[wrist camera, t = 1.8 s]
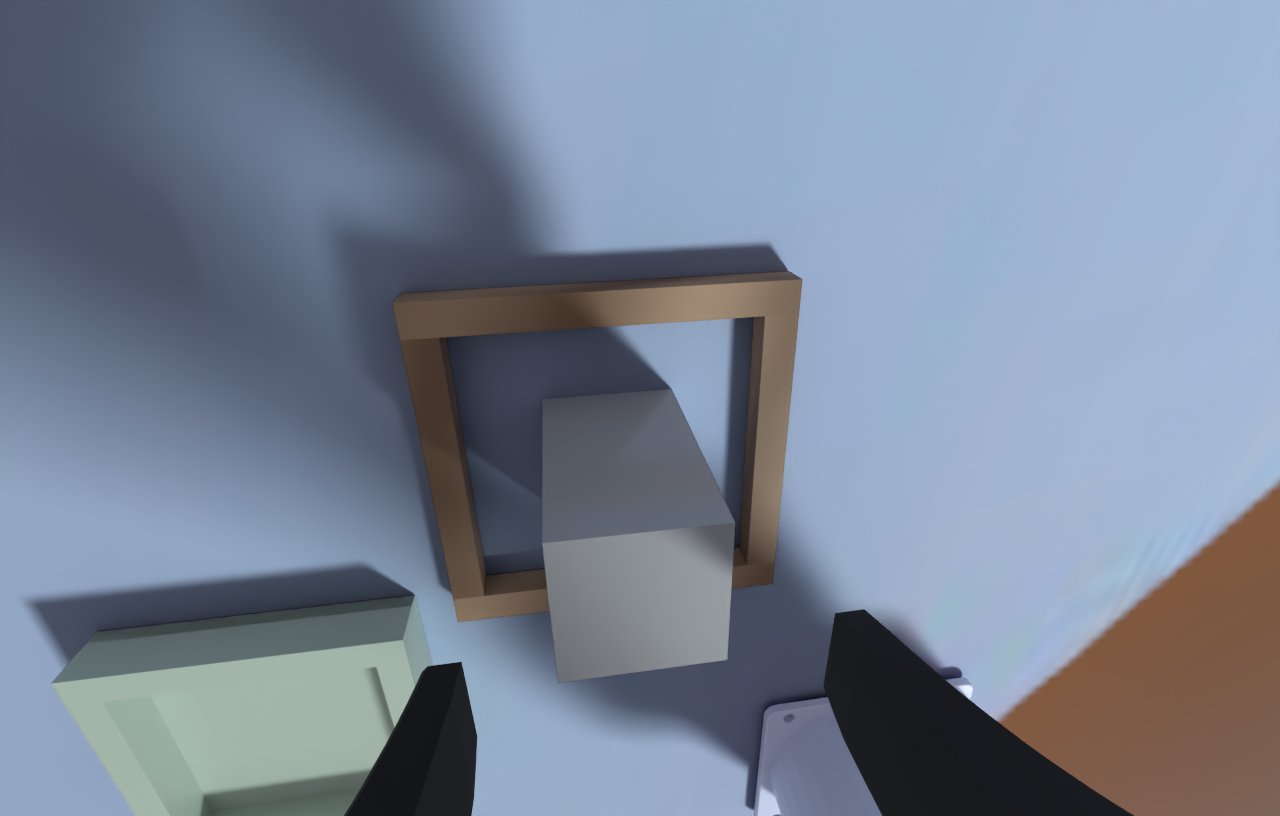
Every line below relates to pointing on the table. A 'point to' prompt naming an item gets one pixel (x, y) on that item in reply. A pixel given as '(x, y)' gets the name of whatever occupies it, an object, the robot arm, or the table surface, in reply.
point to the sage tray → (247, 706)
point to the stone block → (632, 537)
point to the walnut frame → (587, 307)
